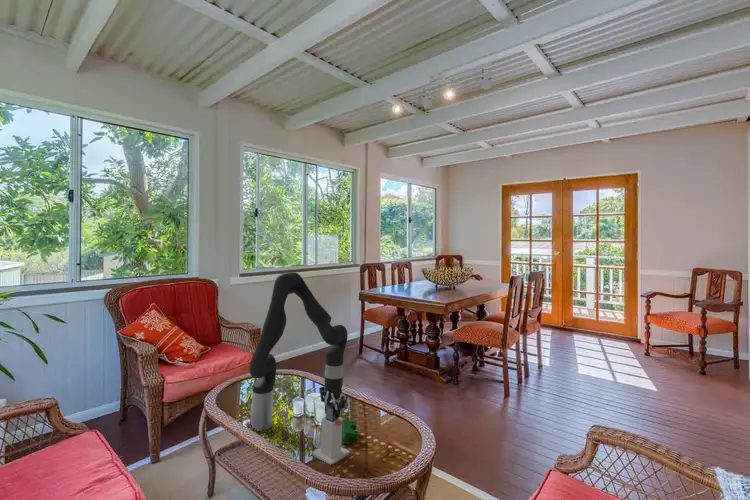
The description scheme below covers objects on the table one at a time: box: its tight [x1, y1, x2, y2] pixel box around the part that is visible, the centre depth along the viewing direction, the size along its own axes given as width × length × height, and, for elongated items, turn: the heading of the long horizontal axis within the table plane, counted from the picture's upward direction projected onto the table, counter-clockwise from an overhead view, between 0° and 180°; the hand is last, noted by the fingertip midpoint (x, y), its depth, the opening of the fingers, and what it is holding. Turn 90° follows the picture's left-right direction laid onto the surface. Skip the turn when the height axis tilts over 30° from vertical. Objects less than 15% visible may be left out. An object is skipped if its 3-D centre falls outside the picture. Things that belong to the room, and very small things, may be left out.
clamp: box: [341, 419, 359, 445], centre depth 164 cm, size 12×6×9 cm, turn 5°
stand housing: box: [311, 416, 351, 466], centre depth 151 cm, size 11×11×15 cm
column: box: [325, 401, 338, 422], centre depth 151 cm, size 4×4×20 cm
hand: (332, 415), depth 151 cm, fingers open, 5 cm apart
